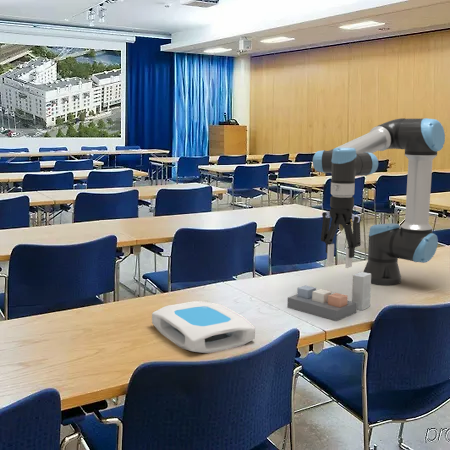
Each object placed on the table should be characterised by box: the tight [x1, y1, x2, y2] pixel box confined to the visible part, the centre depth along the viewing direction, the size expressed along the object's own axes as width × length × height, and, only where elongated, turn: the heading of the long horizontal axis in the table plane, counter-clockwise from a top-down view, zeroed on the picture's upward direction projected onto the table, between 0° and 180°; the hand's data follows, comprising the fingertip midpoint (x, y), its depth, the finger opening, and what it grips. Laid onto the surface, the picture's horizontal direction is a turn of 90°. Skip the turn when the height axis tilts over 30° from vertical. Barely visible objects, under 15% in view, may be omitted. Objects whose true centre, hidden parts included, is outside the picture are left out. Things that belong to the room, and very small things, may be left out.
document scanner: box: [151, 300, 256, 354], centre depth 181 cm, size 21×28×6 cm
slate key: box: [296, 284, 317, 299], centre depth 209 cm, size 5×5×4 cm
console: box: [287, 294, 357, 322], centre depth 205 cm, size 12×20×4 cm, turn 46°
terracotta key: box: [328, 292, 349, 308], centre depth 200 cm, size 5×5×4 cm
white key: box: [312, 288, 333, 303], centre depth 204 cm, size 5×5×4 cm
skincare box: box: [351, 271, 372, 311], centre depth 207 cm, size 6×4×12 cm
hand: (339, 265), depth 198 cm, fingers open, 6 cm apart
